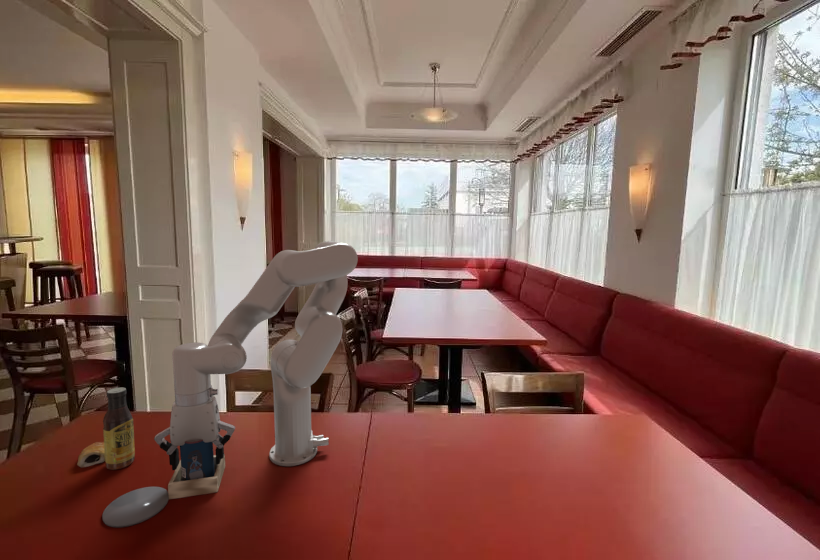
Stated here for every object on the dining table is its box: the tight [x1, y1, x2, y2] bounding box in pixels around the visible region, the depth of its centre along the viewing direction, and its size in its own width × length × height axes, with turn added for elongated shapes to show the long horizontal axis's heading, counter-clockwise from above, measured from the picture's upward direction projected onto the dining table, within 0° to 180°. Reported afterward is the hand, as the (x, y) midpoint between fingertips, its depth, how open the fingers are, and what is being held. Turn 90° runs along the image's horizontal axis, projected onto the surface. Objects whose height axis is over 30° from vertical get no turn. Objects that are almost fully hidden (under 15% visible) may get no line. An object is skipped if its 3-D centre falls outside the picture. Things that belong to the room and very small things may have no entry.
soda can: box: [179, 439, 216, 481], centre depth 95 cm, size 7×7×12 cm
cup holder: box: [167, 453, 226, 500], centre depth 95 cm, size 10×10×4 cm
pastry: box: [76, 441, 105, 468], centre depth 105 cm, size 9×7×4 cm
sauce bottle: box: [102, 386, 136, 471], centre depth 101 cm, size 6×6×20 cm
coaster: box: [101, 486, 170, 529], centre depth 87 cm, size 12×12×1 cm
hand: (197, 463), depth 95 cm, fingers open, 9 cm apart
